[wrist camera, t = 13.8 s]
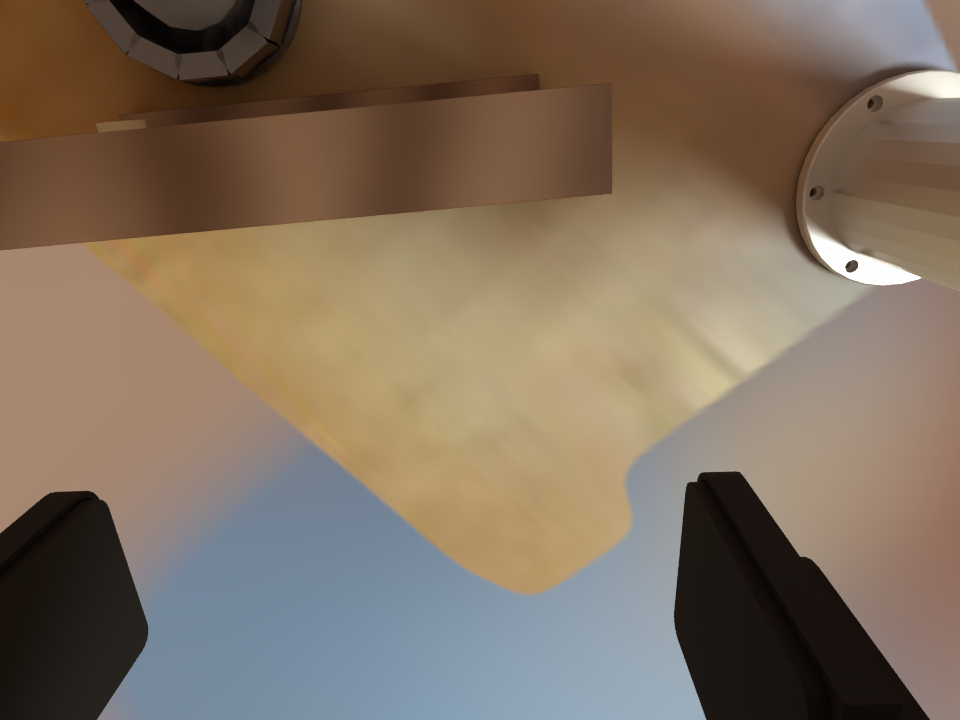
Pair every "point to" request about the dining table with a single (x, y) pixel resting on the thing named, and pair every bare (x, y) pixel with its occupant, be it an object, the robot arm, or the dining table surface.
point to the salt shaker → (189, 12)
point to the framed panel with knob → (309, 161)
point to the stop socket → (203, 40)
